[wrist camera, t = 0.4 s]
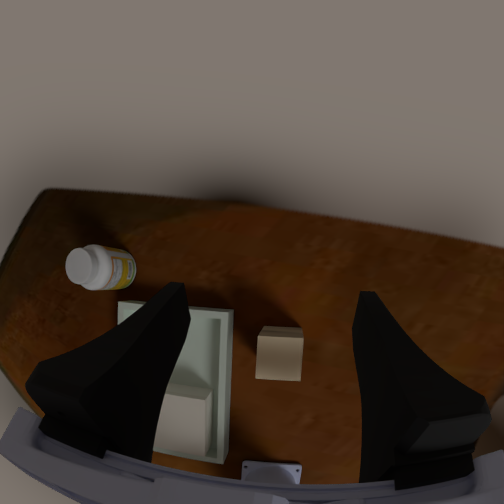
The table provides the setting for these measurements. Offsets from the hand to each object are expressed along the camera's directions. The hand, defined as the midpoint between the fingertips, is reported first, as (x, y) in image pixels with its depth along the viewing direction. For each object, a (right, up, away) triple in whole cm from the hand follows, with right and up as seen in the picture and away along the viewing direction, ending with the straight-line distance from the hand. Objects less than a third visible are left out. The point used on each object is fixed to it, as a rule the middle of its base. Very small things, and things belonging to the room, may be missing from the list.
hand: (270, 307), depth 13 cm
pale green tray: (-10, -14, +26) cm, 31 cm away
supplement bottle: (-19, 0, +28) cm, 34 cm away
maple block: (+3, -9, +24) cm, 26 cm away
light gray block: (-11, -19, +24) cm, 32 cm away
